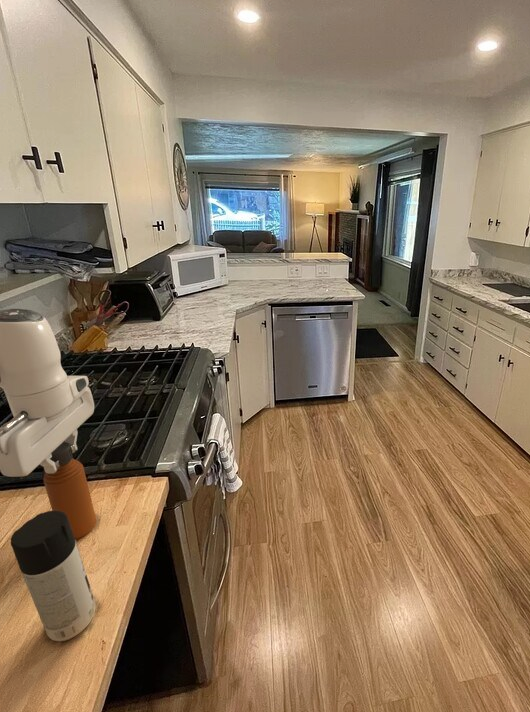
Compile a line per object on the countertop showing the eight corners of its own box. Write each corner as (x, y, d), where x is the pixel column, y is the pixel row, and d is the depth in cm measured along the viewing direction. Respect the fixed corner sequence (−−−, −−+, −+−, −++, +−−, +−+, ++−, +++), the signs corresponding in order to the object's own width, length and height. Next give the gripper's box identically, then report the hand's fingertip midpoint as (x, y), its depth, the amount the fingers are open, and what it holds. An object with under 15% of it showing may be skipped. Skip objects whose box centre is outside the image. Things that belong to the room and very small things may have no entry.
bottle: (51, 540, 71) (27, 462, 64) (72, 514, 77) (52, 440, 70) (84, 540, 71) (64, 462, 65) (102, 514, 77) (85, 440, 71)
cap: (77, 453, 70) (74, 441, 69) (64, 467, 67) (60, 455, 66) (56, 453, 70) (53, 441, 69) (42, 467, 66) (38, 455, 65)
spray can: (106, 606, 59) (79, 515, 53) (67, 651, 53) (30, 554, 47) (77, 593, 61) (47, 503, 55) (36, 634, 55) (-4, 539, 49)
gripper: (14, 432, 54) (40, 503, 59) (92, 372, 73) (107, 429, 78) (-29, 433, 54) (1, 504, 59) (61, 373, 73) (78, 430, 78)
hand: (62, 461), depth 68 cm, fingers closed on cap, 4 cm apart
